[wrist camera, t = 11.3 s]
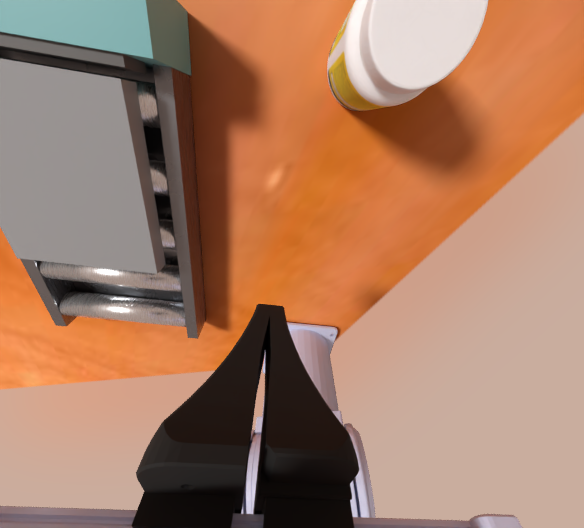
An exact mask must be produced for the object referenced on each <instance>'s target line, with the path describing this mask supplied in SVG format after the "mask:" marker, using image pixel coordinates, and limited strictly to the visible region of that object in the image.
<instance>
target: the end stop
mask: <svg viewBox="0 0 584 528" xmlns="http://www.w3.org/2000/svg"><path fill="white" fill-rule="evenodd" d="M0 49H4V50H10V51H16V52H21V53H27V54H33V55H39V56H45V57H50V58H56V59H62V60H68V61H73V62H79V63H85V64H91V65H97V66H102V67H108V68H114V69H120V70H126V71H131V72H137V73H143V74H147V73H146V67H148V68H153V64H156V65H161V66H167V67H172V68H174V69H176V70H179V71H181V72H183V73H185V74H188V75H190V76H191V61H190V45H189V30H188V14H187V11H186V10H185V9H184V8H183V7H182V5H181V4H180V3H179V2H178V1H177V0H0Z"/></svg>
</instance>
